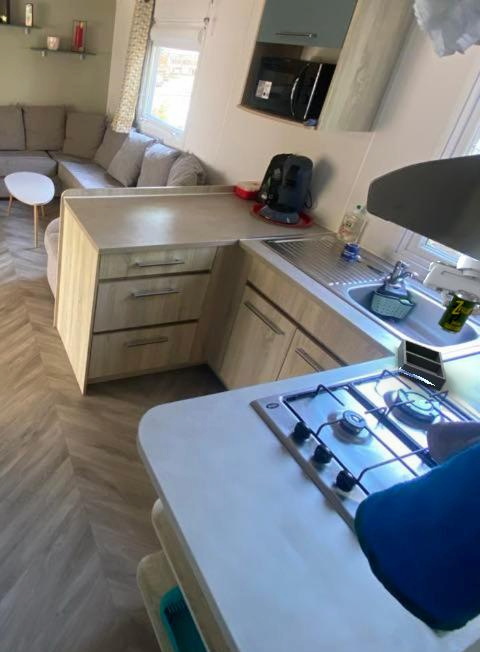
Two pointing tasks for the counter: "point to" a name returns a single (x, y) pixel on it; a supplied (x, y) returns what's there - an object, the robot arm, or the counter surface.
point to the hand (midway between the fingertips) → (458, 311)
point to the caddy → (421, 364)
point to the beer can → (458, 311)
